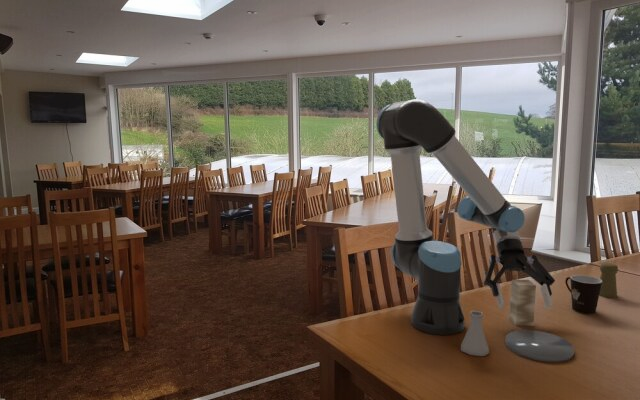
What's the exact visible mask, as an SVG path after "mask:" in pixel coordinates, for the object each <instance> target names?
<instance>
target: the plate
mask: <svg viewBox="0 0 640 400" xmlns="http://www.w3.org/2000/svg"><path fill="white" fill-rule="evenodd" d="M504 341H505V343H504V344H505V345H506V347H507V348H508V349H509V350H510V351H511V352H513V353H515V354H516V355H518V356H521V357H524V358H527V359H529V360H533V361H539V362H546V363H561V362H566V361H567V362H568V361H569V360H571V359H573V357H574V354H575V347H574V345H573V344H572V343H571V342H570V341H568V340H567V339H565V338H563V337H561V336H558V335H555V334H553V333H551V332H550V333H548V332H545V331H540V330H534V329H533V330H532V329H531V330H530V329H519V330H514V331H513V330H512V331H511V332H508V333H507V334H506V336H505V340H504Z"/></svg>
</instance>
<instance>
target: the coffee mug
mask: <svg viewBox="0 0 640 400" xmlns="http://www.w3.org/2000/svg"><path fill="white" fill-rule="evenodd" d="M569 280H570V286H569V284H568V282H569ZM601 285H602V280H601V279H600V277H599V278H598V277H595V276H592V275H591V276H590V275H586V274H585V275H583V274H574V275H570V276H568V277H566V278H565V286H566V288H567V289H568V291H569V292H570V295H571V309H572V310H573V311H575V312H576V313H580V314H586V315H591V314H595V313H597V312H596V311H597V307H598V302H599V298H600V296H599V294H600V290H601Z"/></svg>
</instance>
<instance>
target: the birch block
mask: <svg viewBox="0 0 640 400" xmlns="http://www.w3.org/2000/svg"><path fill="white" fill-rule="evenodd" d="M510 286H511V287H510V302H509V320H510V321H511V322H512V323H513V324H514V325H515V326H534V324H535V323H534V322H535V311H536V309H535V308H536V295H537V294H536V291H537V284H535V283H533V282H532V281H531V280H530V279H511V284H510Z"/></svg>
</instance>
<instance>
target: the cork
mask: <svg viewBox="0 0 640 400" xmlns="http://www.w3.org/2000/svg"><path fill="white" fill-rule="evenodd" d="M599 271H600V272H601V273H600V276H599V279H601V280H602V285H601V290H600V294H599V297H603V298H609V299H610V298H611V299H614V298H617V297H618V289H617V274H618V273H619V272H618V271H619V268H618V265H616V264H615V263H610V262H602V263H601V264H600V266H599Z"/></svg>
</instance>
